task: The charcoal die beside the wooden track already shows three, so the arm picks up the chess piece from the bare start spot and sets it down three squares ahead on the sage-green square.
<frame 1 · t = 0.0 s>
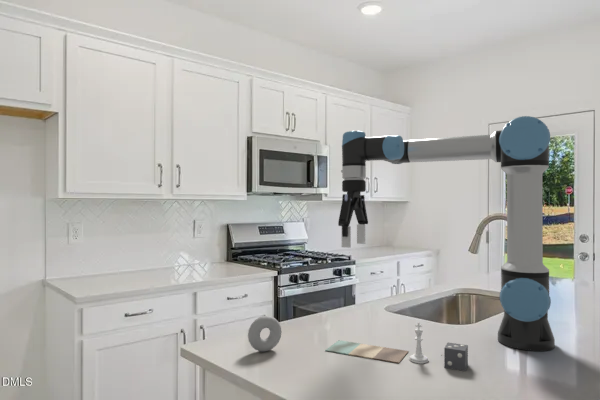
hand: (353, 245, 143), 28 cm above the counter, fingers open, 13 cm apart
chess piece: (418, 360, 118), on the counter
track: (378, 353, 123), on the counter
die: (456, 366, 114), on the counter
donut: (264, 352, 125), on the counter
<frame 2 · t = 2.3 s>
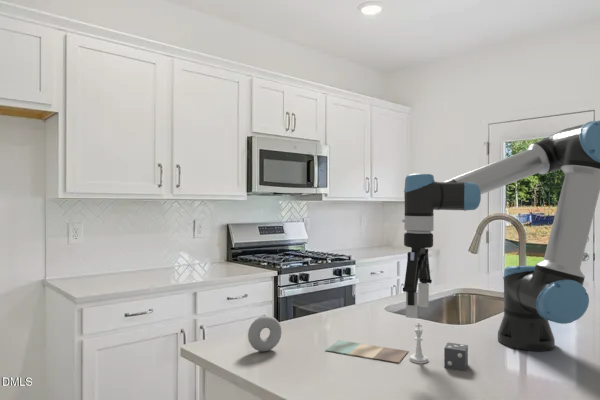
hand: (417, 312, 118), 13 cm above the counter, fingers open, 13 cm apart
nothing on the counter moved.
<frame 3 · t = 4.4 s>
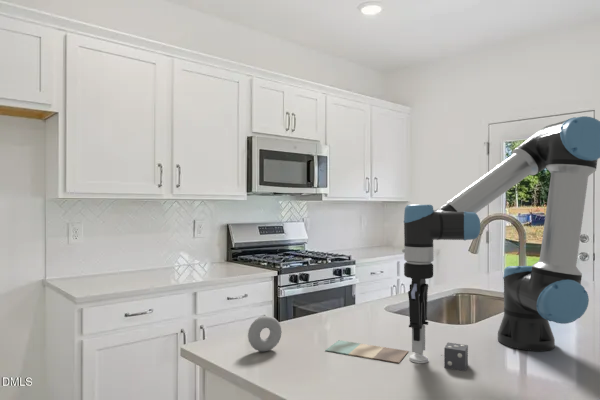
hand: (418, 350, 118), 2 cm above the counter, fingers closed on chess piece, 2 cm apart
chess piece: (418, 360, 118), on the counter, touching gripper
everything else where it was.
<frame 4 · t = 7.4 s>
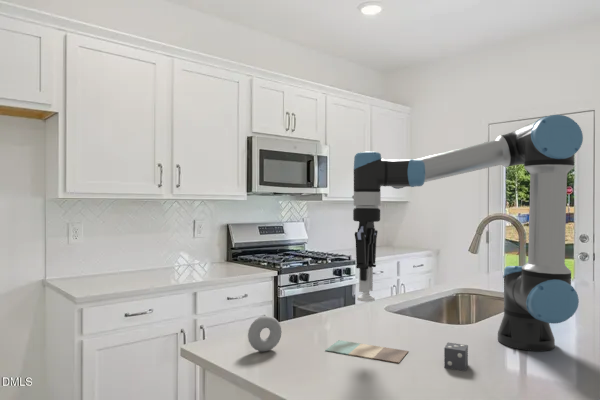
hand: (365, 290, 125), 17 cm above the counter, fingers closed on chess piece, 2 cm apart
chess piece: (365, 300, 125), point 14 cm above the counter, touching gripper
everything else where it was.
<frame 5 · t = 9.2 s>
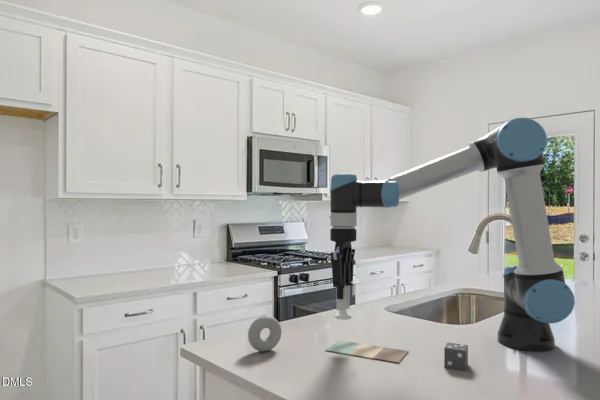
hand: (343, 308, 128), 11 cm above the counter, fingers closed on chess piece, 2 cm apart
chess piece: (343, 318, 128), point 8 cm above the counter, touching gripper
everything else where it was.
when the fingers open (4 cm above the counter, at t = 10.6 s): chess piece drops 1 cm, resting on track.
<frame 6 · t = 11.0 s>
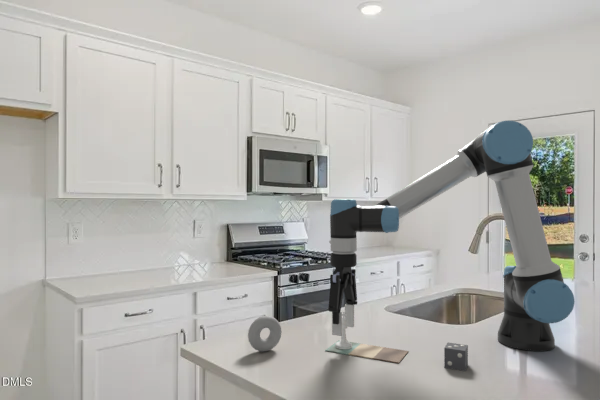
hand: (343, 330, 128), 5 cm above the counter, fingers open, 9 cm apart
chess piece: (343, 347, 128), resting on track
everything else where it was.
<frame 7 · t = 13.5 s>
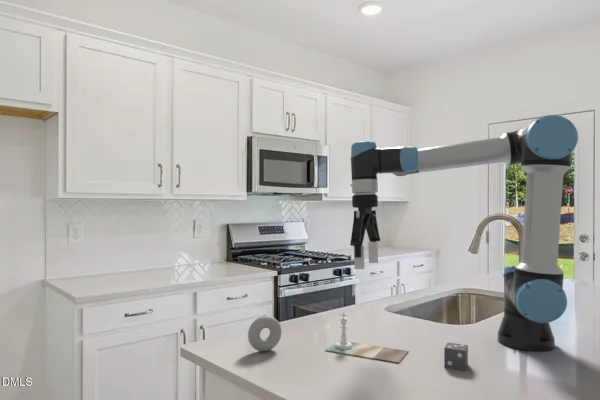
hand: (366, 265, 132), 23 cm above the counter, fingers open, 13 cm apart
nothing on the counter moved.
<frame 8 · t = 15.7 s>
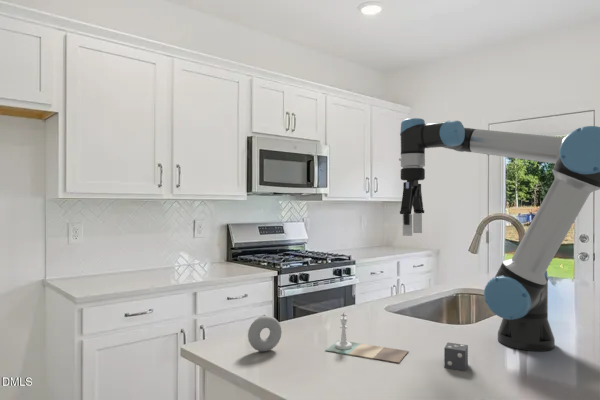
hand: (412, 234, 142), 32 cm above the counter, fingers open, 13 cm apart
nothing on the counter moved.
at the end: chess piece inside the target area (0.1 cm from its centre), resting on track; chess piece tilted 0°; the gripper is holding nothing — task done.
